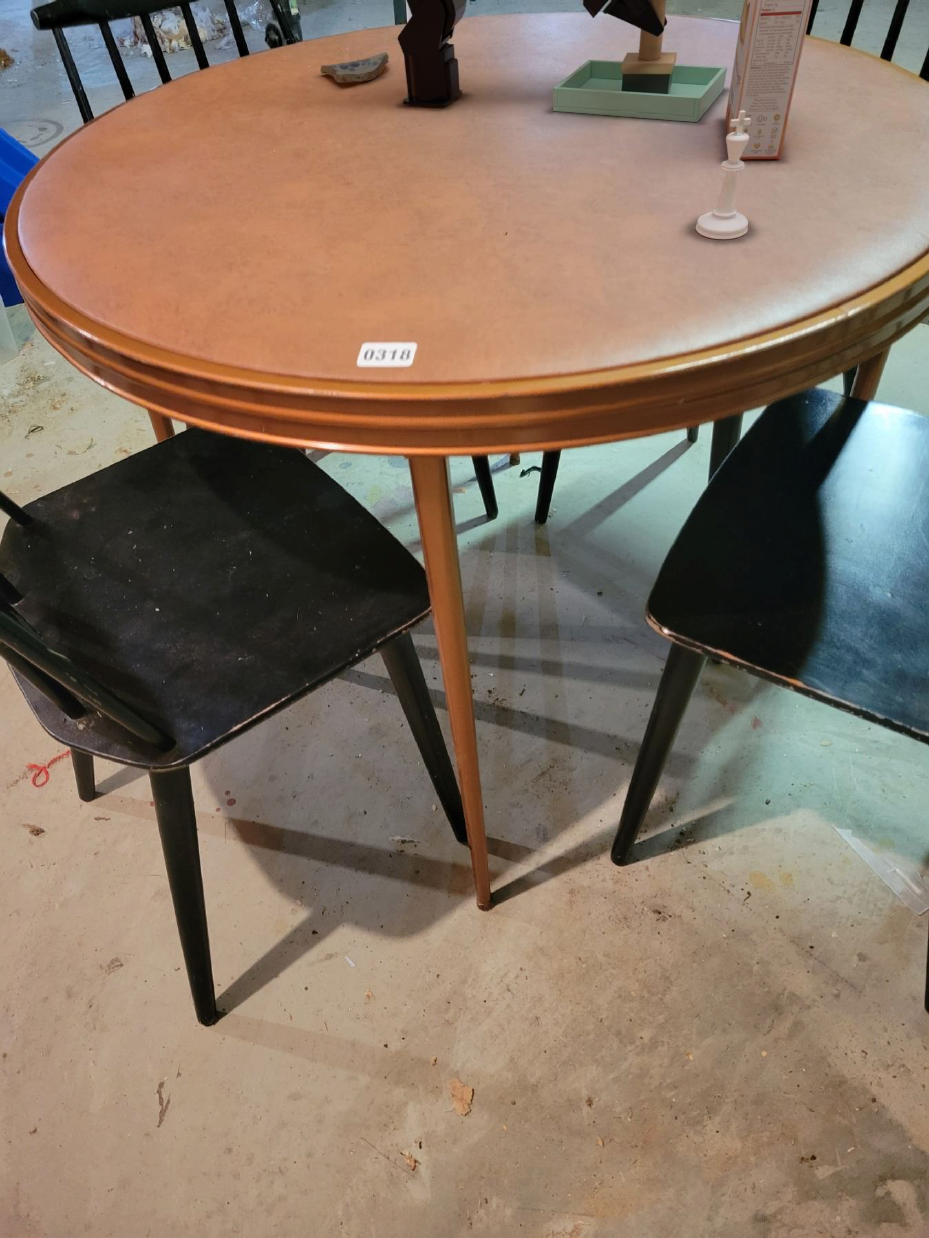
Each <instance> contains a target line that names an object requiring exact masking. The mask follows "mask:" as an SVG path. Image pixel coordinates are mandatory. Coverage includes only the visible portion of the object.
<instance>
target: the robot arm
mask: <svg viewBox="0 0 929 1238" xmlns="http://www.w3.org/2000/svg"><path fill="white" fill-rule="evenodd" d="M467 1H468V0H406V3H407V6H408V9H409V11H410V14H411V16H410V18H409V20H408V21H407V22H406V23H405V25H404V27H403V28H402V29H401V31H400V33H399V34H398V36H397V41H398V44H399V47H400V50H401V52H402V55H403V60H404V70H405V80H406V89H407V97H405V98H403V99H402V105H407V106H420V107H431V108H444V107H445V106H448V104H450V103H451V102H453V101H455V100H456V99H457V98H458V97H460V96H461V95H463V89H461V87H460V72H459V71H460V70H459V60H458V58H456V56H455V54H456V53H455V44H454V43H449V40H451V39H452V38H453V36H454V32H455V29H456V25H457V24H458V23H459V22H460V21H461V20H462V19H463V17H464V14H465V12H466V8H467V3H468V2H467ZM582 6H583V7H584V8H585V10H586V11H587V13H588V14H589V15H590V16H591V18H592V19H594V18H595V17H597V15H598V14H599V13H600V11H601V10H602V11H601V12H602V14H604V15H610V16H611V17H614V18H616V19H619V20H620V21H623V22H625V23H627V24H630V25H631V26H633V27H636V28H638V29H640V30H641V29H642V30H644V31H646V32H648V33H650V34H652V35H654V36H656V37H658V36H660V34H661V33H662V32H663V33H664V31H665V27H666V26H667V25H668V19H667V16H665V20H664V26H663V24H662V22H661V20H660V17H659V15H658V13H657V11H656V9H655V7H654V5H653V3H652V1H651V0H582Z"/></svg>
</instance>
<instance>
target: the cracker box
mask: <svg viewBox="0 0 929 1238" xmlns="http://www.w3.org/2000/svg"><path fill="white" fill-rule="evenodd" d="M812 6H813V0H743V2H742V6H741V14H740V22H739V27H738V34H737V39H736V41H737V42H736V47H735V54H734V59H733V66H732V73H731V80H730V86H729V93H728V99H727V104H726V105H727V106H726V113H725V121H726V122H725V124H726V136H727V135H728V134H730V133H733V132H736V126H734V127H731V126H730V122H731V120H732V119H738V115H739V111H742V110H744V111H745V112H746V113H745V118H750V119H751V123H750V125H743V130H742V132H744V133H746V134H748V135H749V141H748V143H747V145H746V146H745V148H744V151H743V153H742V155H741V157H740V161H743V160H775V159H776V160H780V159H781V154H782V150H783V145H784V142H785V141H784V139H785V135H786V131H787V126H788V120H789V116H790V111H791V106H792V103H793V97H794V92H795V87H796V82H797V77H798V72H799V68H800V63H801V58H802V53H803V48H804V44H805V38H806V34H807V30H808V26H809V20H810V15H811V10H812Z"/></svg>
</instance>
